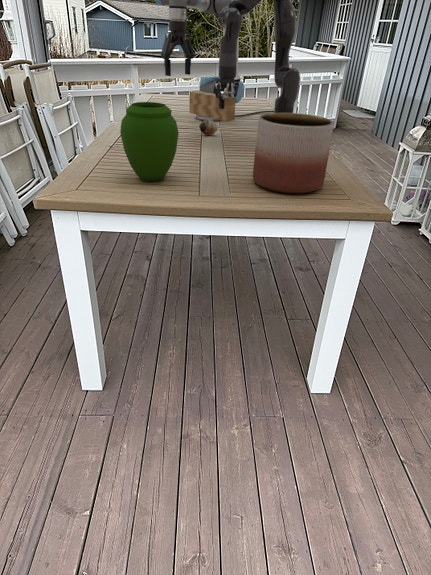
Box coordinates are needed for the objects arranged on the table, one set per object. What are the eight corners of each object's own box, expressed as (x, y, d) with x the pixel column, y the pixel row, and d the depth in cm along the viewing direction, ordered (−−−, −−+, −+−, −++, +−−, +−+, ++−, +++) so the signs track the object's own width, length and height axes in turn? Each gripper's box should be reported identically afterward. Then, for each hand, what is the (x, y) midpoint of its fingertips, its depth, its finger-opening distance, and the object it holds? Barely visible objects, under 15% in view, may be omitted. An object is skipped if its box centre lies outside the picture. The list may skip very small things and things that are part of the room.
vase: (131, 189, 135) (125, 110, 122) (118, 172, 150) (112, 100, 137) (186, 184, 142) (187, 109, 129) (169, 168, 157) (167, 99, 144)
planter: (334, 195, 139) (348, 127, 128) (262, 196, 135) (270, 126, 123) (308, 173, 160) (318, 112, 149) (245, 173, 156) (250, 111, 145)
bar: (189, 112, 195) (189, 91, 190) (196, 112, 198) (196, 90, 193) (227, 121, 181) (228, 98, 176) (234, 120, 184) (235, 97, 179)
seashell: (216, 134, 214) (217, 117, 210) (218, 136, 209) (218, 119, 205) (198, 133, 213) (198, 117, 208) (199, 136, 208) (199, 119, 204)
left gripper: (164, 19, 168) (165, 77, 180) (202, 22, 185) (201, 74, 197) (151, 19, 172) (153, 75, 183) (189, 21, 189) (189, 73, 200)
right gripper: (222, 66, 166) (220, 111, 175) (245, 65, 175) (242, 108, 184) (209, 64, 170) (208, 108, 180) (232, 63, 179) (230, 105, 188)
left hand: (178, 75), depth 190 cm, fingers open, 13 cm apart
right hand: (225, 108), depth 182 cm, fingers closed on bar, 4 cm apart
